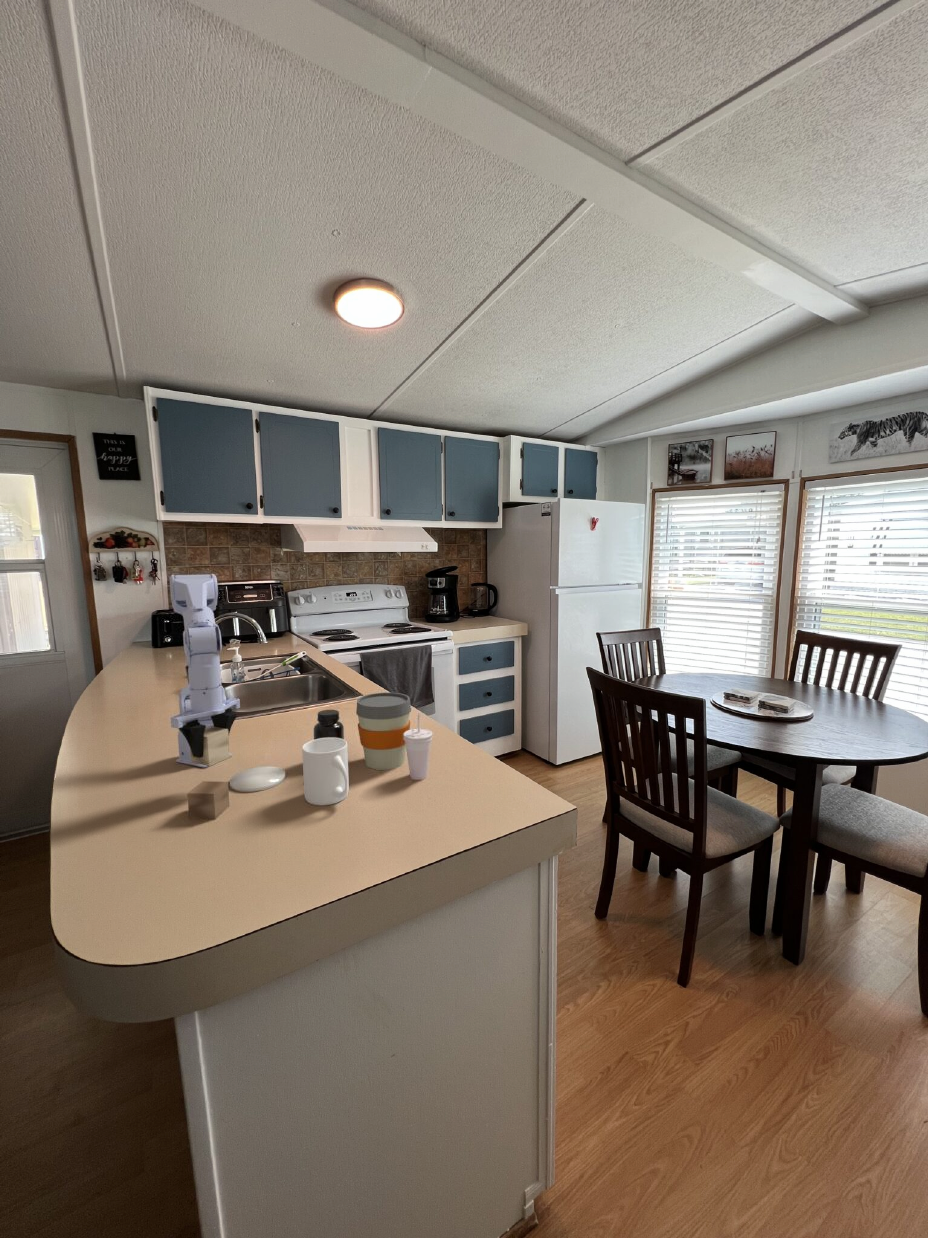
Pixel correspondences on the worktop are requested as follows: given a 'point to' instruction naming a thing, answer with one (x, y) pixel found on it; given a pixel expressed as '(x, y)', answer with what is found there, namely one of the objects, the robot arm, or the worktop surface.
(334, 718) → the supplement bottle
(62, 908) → the worktop surface
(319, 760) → the mug
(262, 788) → the coaster
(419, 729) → the smoothie
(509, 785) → the worktop surface
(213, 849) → the worktop surface
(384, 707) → the reusable coffee cup
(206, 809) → the walnut block
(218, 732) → the beech block
